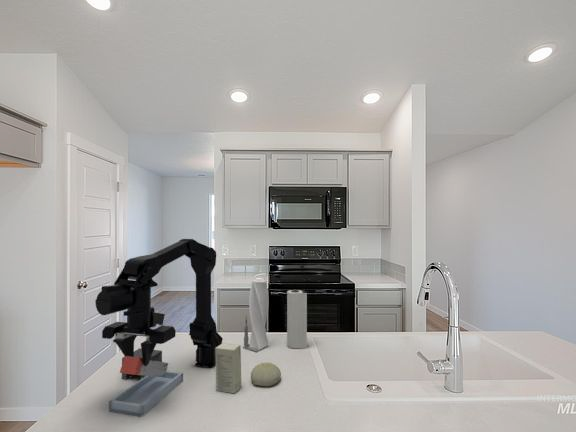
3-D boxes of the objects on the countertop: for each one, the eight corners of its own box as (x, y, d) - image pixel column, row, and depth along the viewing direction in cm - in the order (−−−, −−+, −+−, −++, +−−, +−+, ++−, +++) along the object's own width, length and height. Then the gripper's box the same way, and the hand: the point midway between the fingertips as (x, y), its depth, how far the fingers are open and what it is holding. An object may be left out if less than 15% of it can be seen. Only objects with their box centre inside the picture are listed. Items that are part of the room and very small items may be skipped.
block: (161, 370, 105) (162, 350, 105) (145, 382, 97) (145, 360, 98) (139, 367, 107) (139, 348, 107) (121, 379, 99) (122, 358, 100)
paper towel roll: (284, 344, 128) (284, 290, 128) (298, 342, 130) (298, 288, 131) (292, 351, 121) (292, 293, 122) (306, 348, 124) (306, 292, 124)
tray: (183, 381, 98) (183, 372, 98) (141, 416, 80) (141, 406, 80) (155, 377, 100) (155, 369, 100) (108, 411, 82) (108, 401, 82)
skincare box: (241, 386, 95) (242, 344, 95) (234, 394, 91) (234, 350, 91) (222, 383, 97) (222, 342, 97) (214, 390, 93) (214, 347, 93)
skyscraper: (257, 341, 131) (257, 272, 132) (273, 346, 126) (273, 274, 127) (242, 348, 124) (243, 274, 125) (258, 353, 119) (259, 276, 120)
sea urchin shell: (289, 373, 99) (276, 360, 95) (276, 398, 95) (261, 386, 91) (268, 364, 106) (255, 351, 102) (255, 388, 101) (241, 376, 97)
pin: (165, 377, 94) (169, 362, 96) (134, 374, 81) (139, 357, 83) (152, 375, 95) (156, 360, 97) (119, 372, 82) (124, 355, 84)
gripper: (186, 300, 92) (186, 356, 92) (130, 297, 96) (130, 349, 96) (162, 310, 81) (162, 373, 81) (100, 306, 86) (100, 366, 85)
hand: (138, 364), depth 86 cm, fingers closed on pin, 4 cm apart
